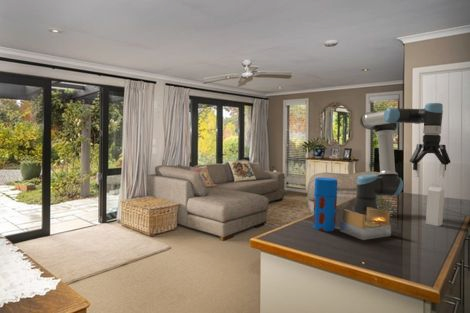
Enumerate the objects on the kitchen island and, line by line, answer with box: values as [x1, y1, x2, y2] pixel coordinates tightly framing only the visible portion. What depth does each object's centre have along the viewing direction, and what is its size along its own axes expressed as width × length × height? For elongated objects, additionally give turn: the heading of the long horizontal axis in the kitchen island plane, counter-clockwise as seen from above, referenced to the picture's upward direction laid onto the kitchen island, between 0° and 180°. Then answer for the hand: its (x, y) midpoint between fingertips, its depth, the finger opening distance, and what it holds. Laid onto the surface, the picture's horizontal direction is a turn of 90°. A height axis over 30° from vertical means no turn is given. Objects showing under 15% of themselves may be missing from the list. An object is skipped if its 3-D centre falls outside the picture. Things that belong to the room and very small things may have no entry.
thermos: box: [312, 177, 338, 232], centre depth 157 cm, size 11×11×25 cm
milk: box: [425, 183, 445, 227], centre depth 171 cm, size 6×6×22 cm
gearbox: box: [339, 207, 392, 241], centre depth 150 cm, size 14×18×11 cm
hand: (428, 177), depth 157 cm, fingers open, 13 cm apart
